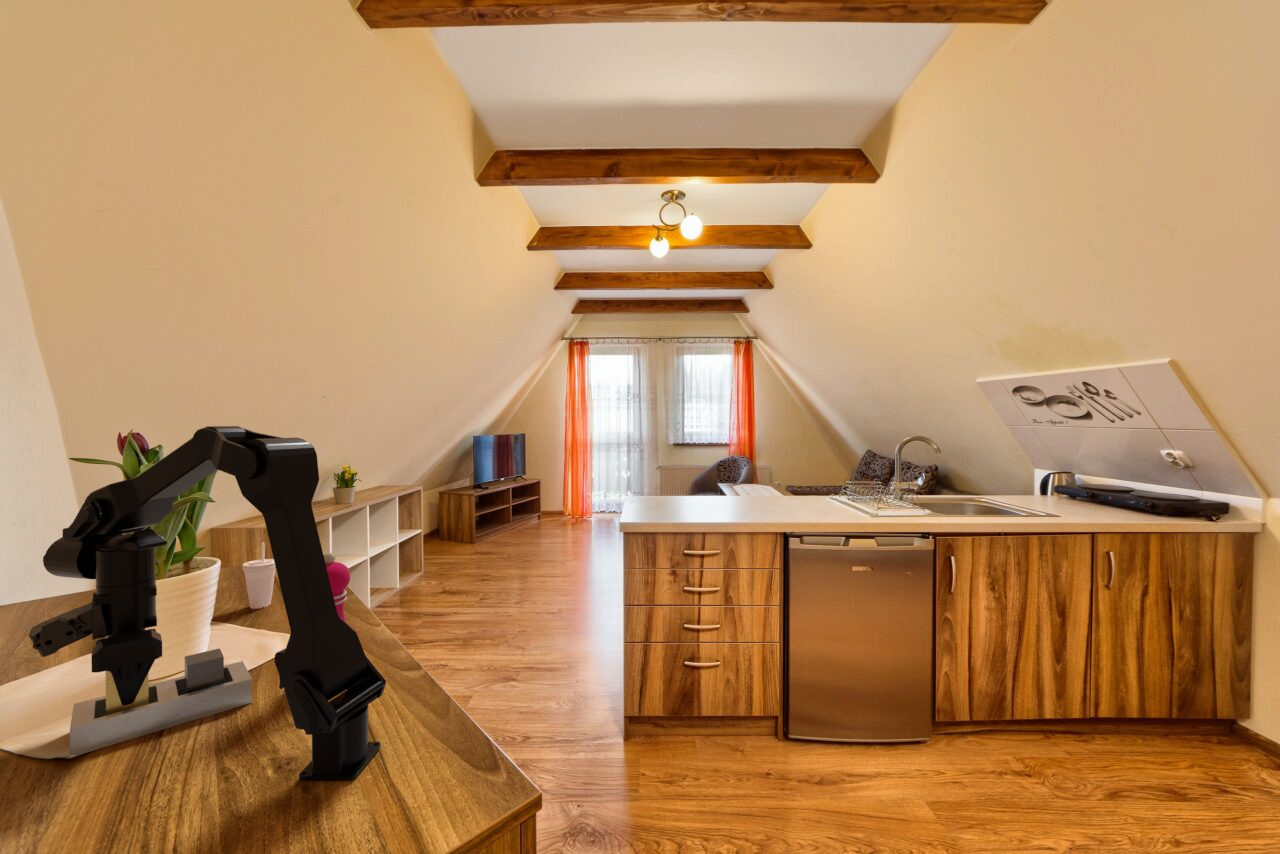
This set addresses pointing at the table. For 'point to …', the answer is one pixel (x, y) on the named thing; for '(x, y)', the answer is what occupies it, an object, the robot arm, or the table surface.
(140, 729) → the grey slotted block holder
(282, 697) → the table surface
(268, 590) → the smoothie
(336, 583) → the pepper mill
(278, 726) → the table surface
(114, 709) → the wooden toy block
